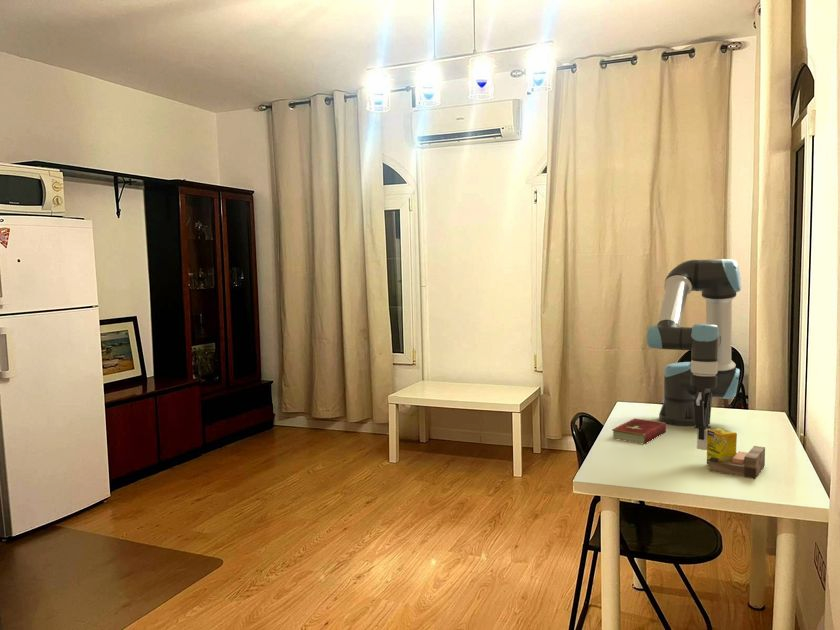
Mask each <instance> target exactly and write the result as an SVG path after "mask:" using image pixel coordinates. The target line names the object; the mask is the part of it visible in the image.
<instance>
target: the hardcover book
mask: <svg viewBox="0 0 840 630" xmlns="http://www.w3.org/2000/svg"><path fill="white" fill-rule="evenodd" d="M611 431H612V432H613V435H612V438H613V440H616V439H620V440H619V441H622V440H626V441H625V442H628V441H631V442H630V443H634V442H637V443H636V444H640V443H643V444H642V445H644V444H645V445H647V444H648V443H650V442H651V440H652V439H653V440H655V439H657V438H658V437H660V436H661V434H662V435H664V434H665V433H666V432H667V423H664V422H661V421H656V420H655V421H654V420H647V419H641V418H635V417H634V418H633V419H631V420H628V421H627V422H624V423H623V424H620V425H618V426H616V427H614V428H612V429H611ZM659 435H660V436H659ZM657 436H658V437H657ZM656 437H657V438H656ZM654 438H655V439H654ZM653 440H652V441H653ZM649 441H650V442H649ZM647 442H648V443H647Z"/></svg>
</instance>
